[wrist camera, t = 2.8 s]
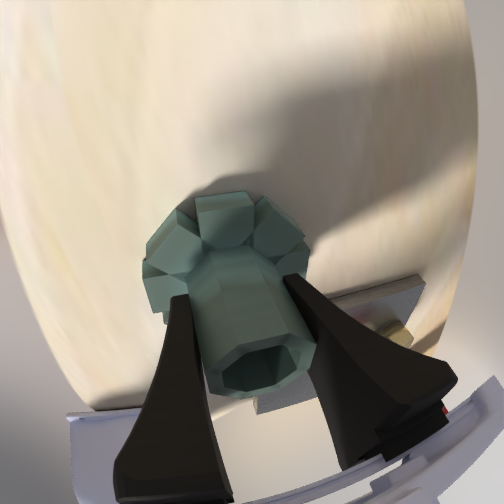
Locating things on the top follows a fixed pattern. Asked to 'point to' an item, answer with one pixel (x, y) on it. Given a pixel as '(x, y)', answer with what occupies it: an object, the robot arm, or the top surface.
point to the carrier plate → (370, 315)
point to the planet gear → (235, 290)
